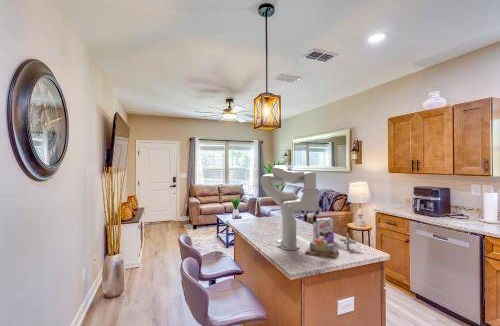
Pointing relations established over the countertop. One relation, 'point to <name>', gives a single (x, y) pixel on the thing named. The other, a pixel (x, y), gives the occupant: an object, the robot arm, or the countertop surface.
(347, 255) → the countertop surface
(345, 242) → the beige crossed-rod piece
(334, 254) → the board
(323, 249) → the ball valve
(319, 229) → the candy box
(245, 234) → the countertop surface
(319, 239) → the lever
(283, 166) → the robot arm
